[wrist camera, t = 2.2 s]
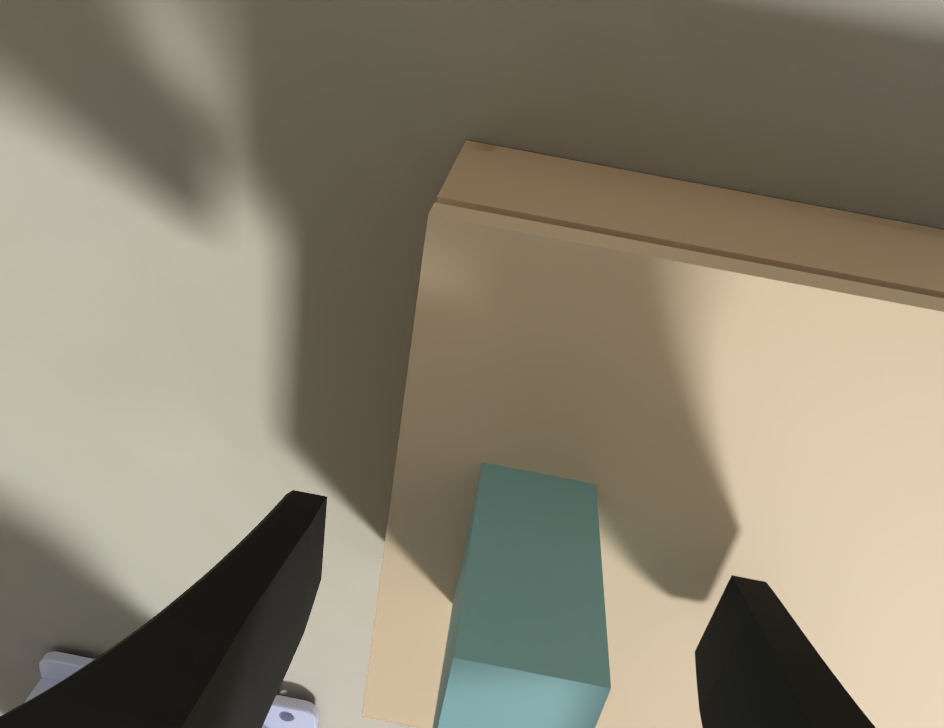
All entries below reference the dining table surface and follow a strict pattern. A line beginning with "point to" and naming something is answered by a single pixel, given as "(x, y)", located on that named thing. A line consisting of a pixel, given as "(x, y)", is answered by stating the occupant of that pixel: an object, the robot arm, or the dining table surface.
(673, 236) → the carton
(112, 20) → the dining table surface
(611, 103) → the dining table surface
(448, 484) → the tan flat square block
